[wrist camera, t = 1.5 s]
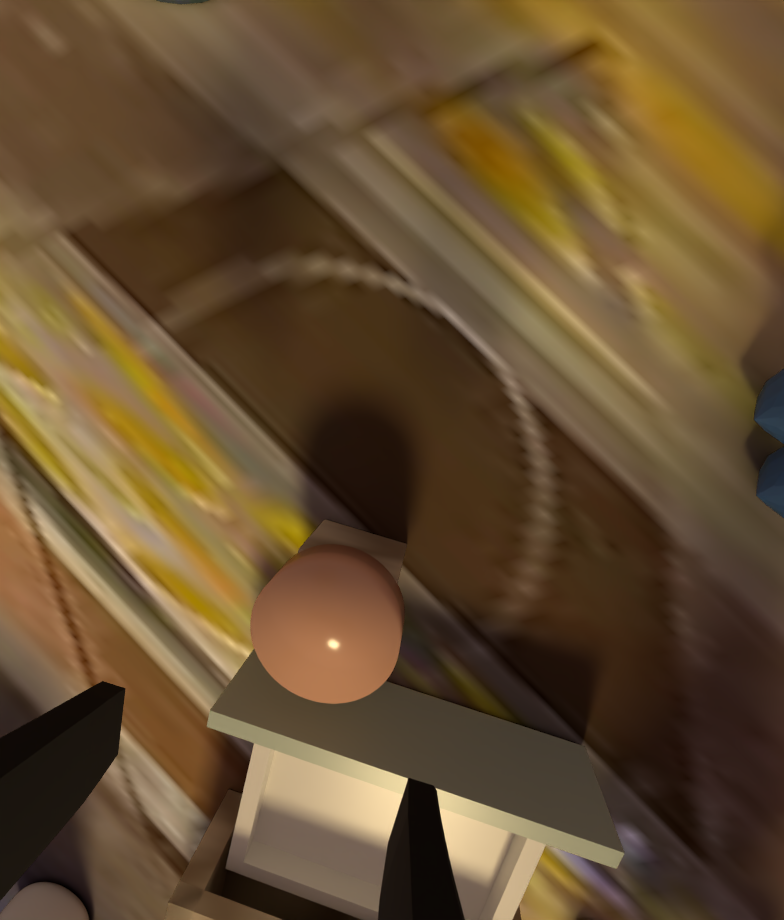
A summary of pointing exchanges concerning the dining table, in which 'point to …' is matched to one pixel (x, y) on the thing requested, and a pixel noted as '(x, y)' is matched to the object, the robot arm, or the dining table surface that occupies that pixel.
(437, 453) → the dining table surface
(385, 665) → the rounded lump
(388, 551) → the block
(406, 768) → the pull-out drawer
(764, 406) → the grapes
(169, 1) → the cocktail glass
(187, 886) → the housing
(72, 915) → the white cylinder
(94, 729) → the robot arm
